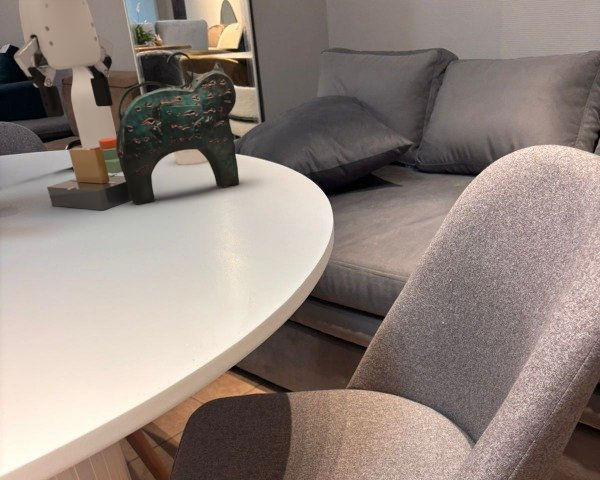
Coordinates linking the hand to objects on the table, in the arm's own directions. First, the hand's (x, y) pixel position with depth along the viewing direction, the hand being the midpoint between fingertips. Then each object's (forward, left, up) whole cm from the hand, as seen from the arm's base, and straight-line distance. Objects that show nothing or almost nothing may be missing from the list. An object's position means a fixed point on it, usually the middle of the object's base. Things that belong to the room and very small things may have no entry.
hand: (81, 111), depth 97 cm
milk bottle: (-33, +31, -14) cm, 47 cm away
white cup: (-5, +29, -14) cm, 32 cm away
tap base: (-1, 0, -14) cm, 14 cm away
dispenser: (-19, +21, -14) cm, 31 cm away
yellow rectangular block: (-1, 0, -10) cm, 10 cm away
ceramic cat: (+12, +8, -14) cm, 20 cm away
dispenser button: (-19, +21, -10) cm, 30 cm away
